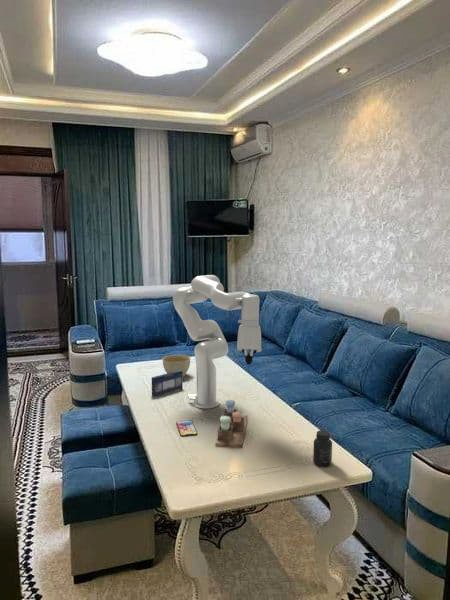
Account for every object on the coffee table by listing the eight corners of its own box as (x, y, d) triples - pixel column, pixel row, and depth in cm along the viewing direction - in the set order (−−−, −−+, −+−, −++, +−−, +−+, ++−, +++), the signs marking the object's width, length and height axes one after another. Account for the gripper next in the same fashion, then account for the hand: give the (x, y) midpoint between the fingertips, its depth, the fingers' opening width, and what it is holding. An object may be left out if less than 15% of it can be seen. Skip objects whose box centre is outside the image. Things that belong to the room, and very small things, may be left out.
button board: (215, 445, 191) (215, 433, 191) (224, 417, 220) (224, 406, 219) (241, 447, 190) (241, 435, 189) (247, 418, 219) (247, 407, 218)
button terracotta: (231, 429, 203) (231, 415, 202) (232, 425, 207) (232, 411, 206) (241, 429, 202) (241, 415, 201) (242, 425, 206) (242, 412, 205)
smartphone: (192, 420, 215) (198, 433, 201) (192, 422, 216) (198, 435, 201) (175, 421, 214) (180, 435, 199) (175, 423, 214) (180, 437, 199)
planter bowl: (196, 375, 280) (196, 357, 278) (179, 382, 267) (178, 363, 265) (174, 370, 288) (174, 353, 287) (156, 377, 275) (156, 359, 273)
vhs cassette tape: (154, 397, 245) (153, 378, 243) (151, 395, 247) (150, 377, 245) (183, 389, 257) (183, 371, 255) (180, 387, 259) (179, 369, 257)
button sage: (219, 434, 194) (219, 419, 193) (220, 430, 198) (220, 415, 197) (229, 434, 194) (229, 420, 193) (230, 430, 198) (231, 416, 197)
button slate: (224, 416, 212) (225, 403, 211) (226, 413, 216) (226, 399, 215) (234, 417, 211) (234, 403, 210) (235, 413, 215) (235, 400, 214)
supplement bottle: (310, 459, 181) (311, 429, 179) (328, 458, 182) (329, 428, 180) (315, 468, 174) (316, 437, 173) (334, 467, 175) (335, 436, 173)
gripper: (231, 323, 205) (230, 365, 208) (266, 326, 203) (264, 367, 206) (234, 320, 212) (233, 360, 216) (268, 322, 210) (266, 362, 213)
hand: (248, 363), depth 211 cm, fingers closed
